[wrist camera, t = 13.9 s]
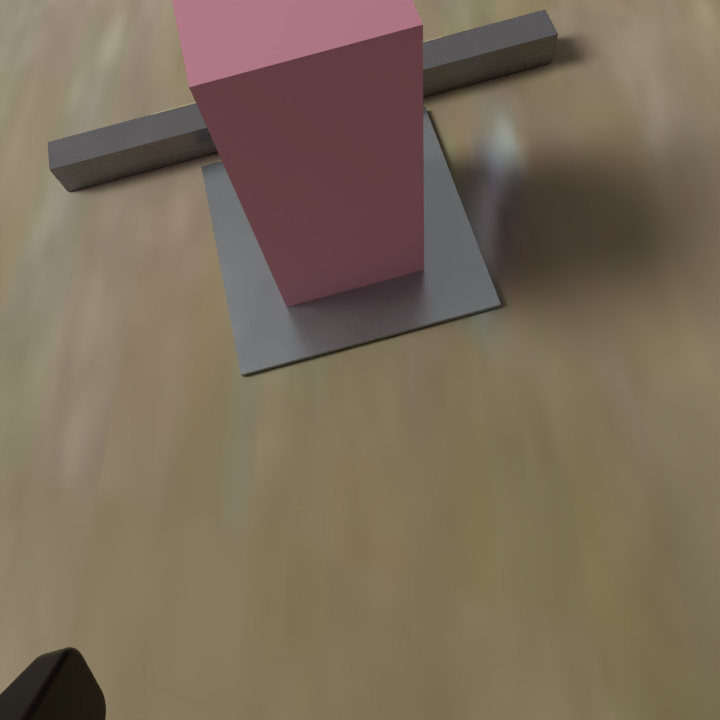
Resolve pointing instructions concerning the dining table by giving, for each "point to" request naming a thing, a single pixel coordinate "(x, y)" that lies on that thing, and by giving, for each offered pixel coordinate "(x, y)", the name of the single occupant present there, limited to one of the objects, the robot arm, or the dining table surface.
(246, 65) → the carton
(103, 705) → the robot arm
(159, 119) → the rail
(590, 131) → the dining table surface
